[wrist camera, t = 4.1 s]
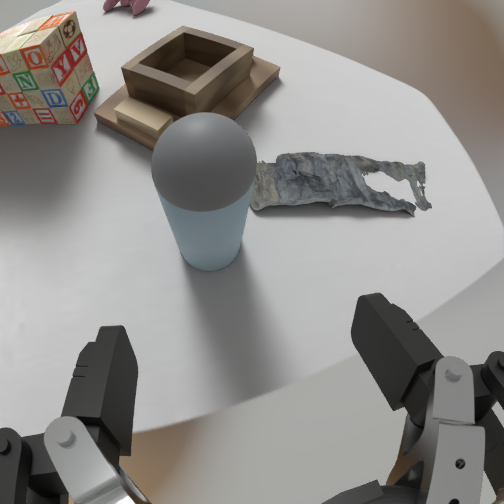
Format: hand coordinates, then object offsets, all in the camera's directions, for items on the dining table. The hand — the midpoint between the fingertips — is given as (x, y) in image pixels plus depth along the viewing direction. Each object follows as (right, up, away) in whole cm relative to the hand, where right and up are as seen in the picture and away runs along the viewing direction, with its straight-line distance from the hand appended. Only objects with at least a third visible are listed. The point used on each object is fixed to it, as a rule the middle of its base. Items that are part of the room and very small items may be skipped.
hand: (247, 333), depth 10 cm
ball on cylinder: (-3, +4, +14) cm, 15 cm away
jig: (-7, +20, +19) cm, 29 cm away
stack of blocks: (-29, +22, +18) cm, 40 cm away
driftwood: (+9, +9, +18) cm, 22 cm away
